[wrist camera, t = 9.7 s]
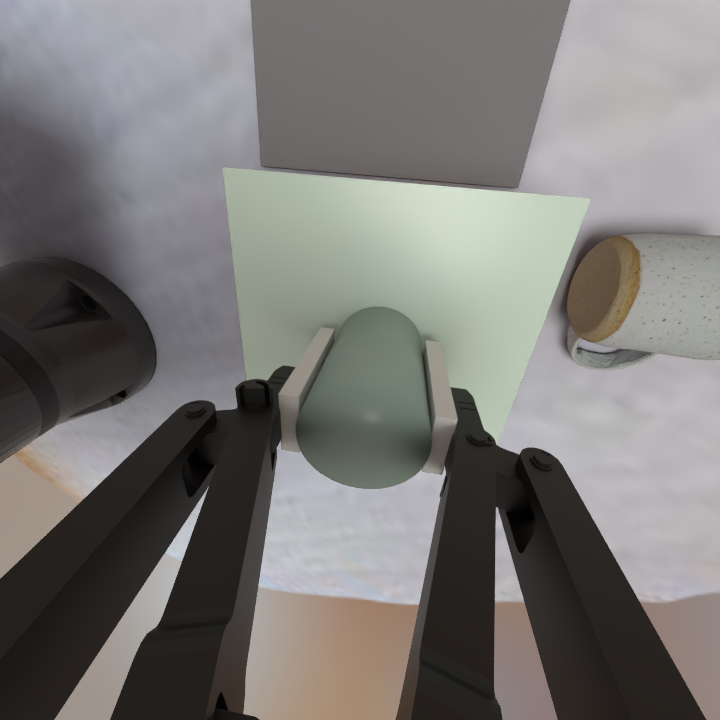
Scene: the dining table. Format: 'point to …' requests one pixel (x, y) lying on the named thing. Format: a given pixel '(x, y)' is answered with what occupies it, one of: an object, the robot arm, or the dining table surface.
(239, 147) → the dining table surface
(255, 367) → the lid
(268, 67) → the mat
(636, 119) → the dining table surface
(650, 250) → the ceramic mug
